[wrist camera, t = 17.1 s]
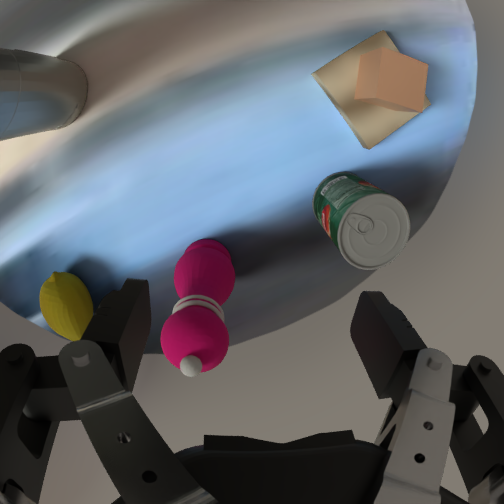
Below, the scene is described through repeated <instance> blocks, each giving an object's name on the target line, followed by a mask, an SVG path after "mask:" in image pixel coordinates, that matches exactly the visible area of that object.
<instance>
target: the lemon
mask: <svg viewBox="0 0 504 504" xmlns="http://www.w3.org/2000/svg"><path fill="white" fill-rule="evenodd" d="M40 307H41V311H42V314H43V316H44V318H45V320H46V322H47V323H48V325H49V326H50V327H51V328H52V329H53V330H54V331H55V332H57V333H58V334H60V335H61V336H63V337H66V338H68V339H69V340H72V341H77V340H80V339H81V337H82V335H83V333H84V331H85V330H86V328H87V326H88V324H89V322H90V320H91V319H92V317H93V303H92V299H91V296H90V293H89V291H88V289H87V287H86V286H85V285H84V283H83V282H82V281H81V280H80V279H79V278H78V277H77V276H75V275H73V274H70V273H67V272H53V274H52V275H51V277H49V278H48V279H47V280H46V281H45V282H44V284H43V286H42V288H41V291H40Z"/></svg>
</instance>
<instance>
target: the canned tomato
mask: <svg viewBox="0 0 504 504" xmlns="http://www.w3.org/2000/svg"><path fill="white" fill-rule="evenodd" d="M312 206H313V212H314V215H315V217H316V219H317V220H318V222H319V223H320V224H321V225H322V227H323V228H324V230H325V231H326V232H327V234H328V235H329V237H330V238H331V239H332V241H333V242H334V243H335V245H336V246H337V248H338V249H339V251H340V252H341V254H342V255H343V257H344V258H345V260H347V261H348V262H349V263H350V264H351V265H353V266H355V267H356V268H360V269H364V270H373V269H378V268H381V267H384V266H386V265H387V264H389V263H391V262H392V261H393V260H395V259H396V258H397V256H399V255H400V253H401V252H402V250H403V249H404V247H405V245H406V243H407V241H408V238H409V234H410V219H409V215H408V212H407V210H406V208H405V207H404V205H403V204H402V203H401V202H400V201H399V200H398V199H396V198H395V197H393V196H391V195H389V194H388V193H386V192H384V191H382V190H381V189H379V188H378V187H376V186H374V185H372V184H370V183H369V182H367V181H365V180H364V179H362V178H360V177H358V176H357V175H355V174H352V173H348V172H338V173H334V174H332V175H330V176H328V177H326V178H325V179H324V180H323V181H322V182H321V183H320V184H319V185H318V187H317V188H316V190H315V193H314V196H313V201H312Z"/></svg>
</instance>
